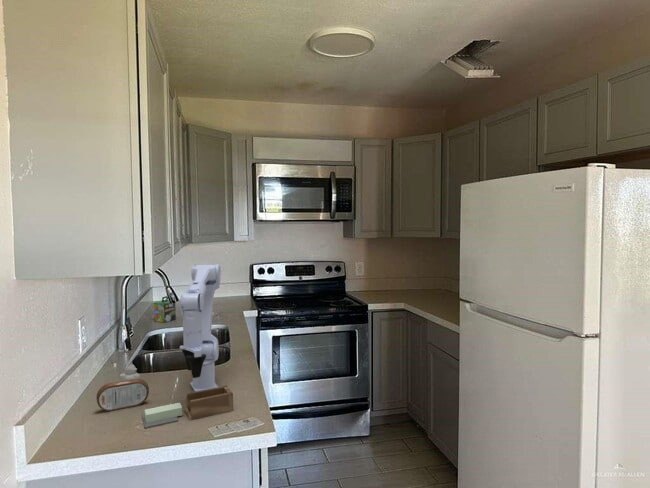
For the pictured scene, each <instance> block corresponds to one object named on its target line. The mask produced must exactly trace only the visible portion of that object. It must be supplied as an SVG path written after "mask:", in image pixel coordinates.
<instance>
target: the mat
mask: <svg viewBox="0 0 650 488" xmlns="http://www.w3.org/2000/svg"><path fill="white" fill-rule="evenodd" d="M141 417H142V421H143V426H144V429H150V428H154V427H159V426H162V425H167V424H171V423H176V422H179V419H178V416H177V417H172V418H168V419H163V420H159V421H154V422H149V423H146V420H145V413H144V414H141Z"/></svg>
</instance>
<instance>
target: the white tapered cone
mask: <svg viewBox="0 0 650 488" xmlns="http://www.w3.org/2000/svg"><path fill="white" fill-rule="evenodd" d="M137 370H138V368H136V366H135V365H134V364H133V362H130V364H129V365H128V366H127V367H126V369H125V372H126V373H120V375H119V378H120V381H124V380H131V379H141V376H140V374H139V373H138V372H137Z"/></svg>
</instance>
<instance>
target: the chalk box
mask: <svg viewBox="0 0 650 488" xmlns="http://www.w3.org/2000/svg"><path fill="white" fill-rule="evenodd" d="M167 296H168V295H165V296H162V298H161V300H159V301H155V302H153V321H154V322H157V323H164V324H165V323H169V322H173V321H176V320H177V316H176V312H177V311H176V302H175V303H173V304H171V303H170V302H169V296H168V297H167Z"/></svg>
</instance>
